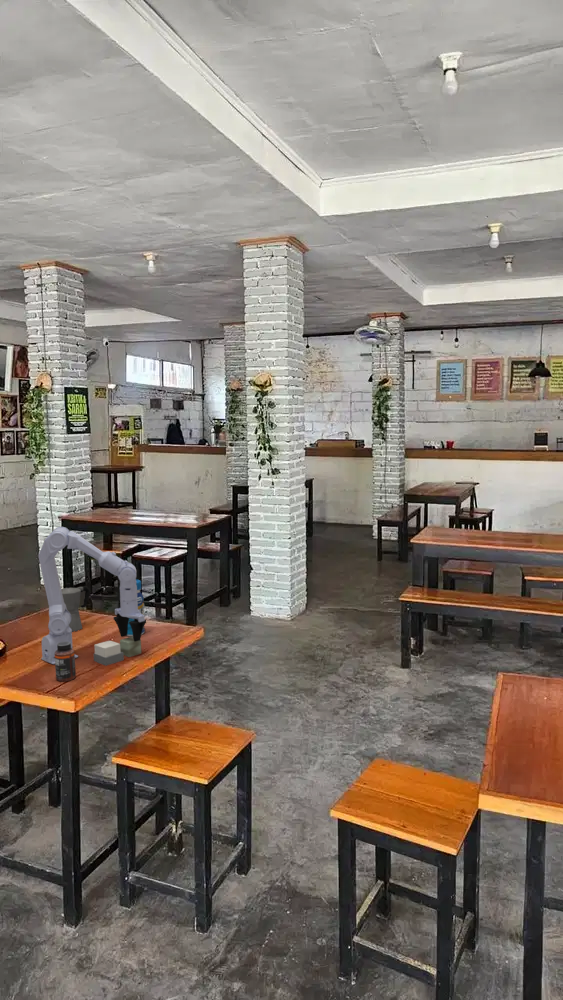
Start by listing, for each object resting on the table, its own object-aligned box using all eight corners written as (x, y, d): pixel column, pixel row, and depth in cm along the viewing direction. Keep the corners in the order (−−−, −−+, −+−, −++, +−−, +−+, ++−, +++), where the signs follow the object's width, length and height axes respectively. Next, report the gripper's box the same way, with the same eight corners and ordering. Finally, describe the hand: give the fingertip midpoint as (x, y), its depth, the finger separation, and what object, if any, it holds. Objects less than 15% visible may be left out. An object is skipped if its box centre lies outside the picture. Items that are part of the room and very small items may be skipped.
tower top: (105, 657, 230) (104, 648, 229) (94, 653, 234) (94, 644, 233) (120, 652, 234) (120, 643, 234) (110, 648, 238) (109, 640, 238)
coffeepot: (59, 635, 262) (57, 588, 260) (48, 630, 269) (46, 584, 267) (97, 626, 272) (95, 581, 270) (85, 621, 279) (83, 577, 277)
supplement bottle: (73, 673, 223) (72, 639, 221) (77, 679, 217) (76, 644, 216) (54, 677, 220) (52, 642, 218) (57, 683, 215) (56, 647, 213)
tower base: (105, 666, 229) (105, 658, 229) (93, 662, 234) (93, 653, 234) (123, 661, 235) (123, 652, 234) (111, 656, 239) (111, 648, 239)
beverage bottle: (120, 631, 265) (118, 580, 263) (142, 628, 269) (140, 577, 266) (124, 638, 258) (122, 584, 255) (147, 635, 261) (145, 582, 259)
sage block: (129, 657, 237) (128, 643, 237) (120, 654, 241) (119, 640, 240) (141, 653, 241) (140, 639, 240) (132, 650, 244) (132, 636, 244)
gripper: (151, 600, 237) (153, 639, 238) (126, 593, 246) (127, 631, 248) (133, 605, 232) (135, 645, 233) (108, 597, 241) (110, 636, 243)
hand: (130, 638), depth 240 cm, fingers open, 7 cm apart
